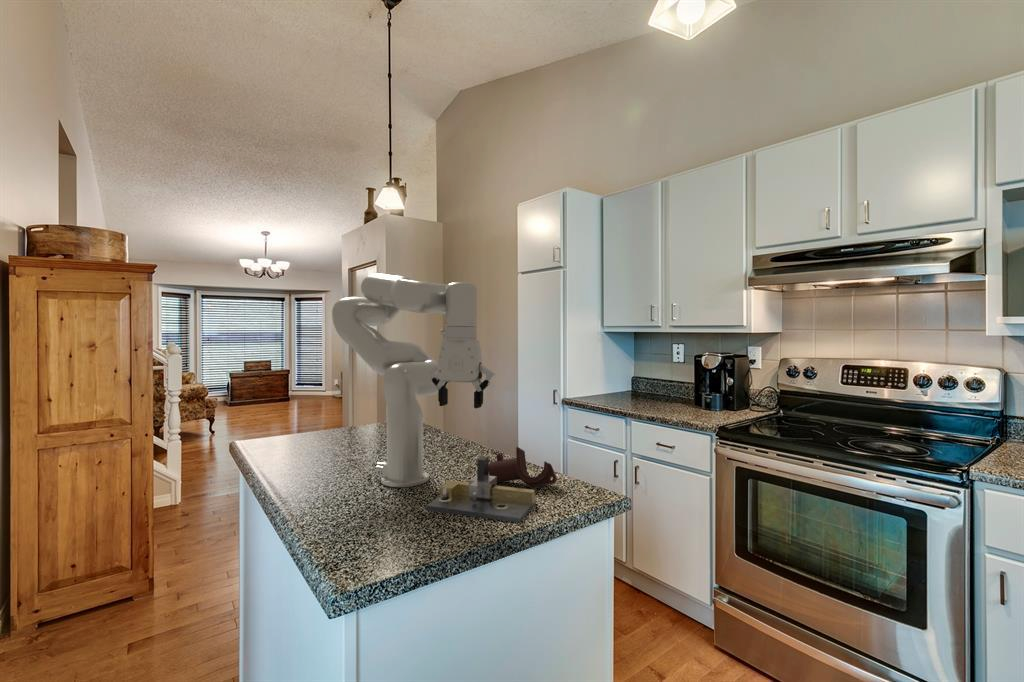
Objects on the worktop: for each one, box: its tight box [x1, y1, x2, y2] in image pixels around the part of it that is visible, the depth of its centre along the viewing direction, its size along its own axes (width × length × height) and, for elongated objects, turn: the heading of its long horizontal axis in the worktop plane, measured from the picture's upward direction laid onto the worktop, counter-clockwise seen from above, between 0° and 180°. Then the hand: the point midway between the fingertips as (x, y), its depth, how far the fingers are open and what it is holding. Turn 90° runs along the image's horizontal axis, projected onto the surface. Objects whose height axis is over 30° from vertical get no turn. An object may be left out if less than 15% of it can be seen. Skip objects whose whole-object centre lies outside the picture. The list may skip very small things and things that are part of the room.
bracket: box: [489, 446, 558, 488], centre depth 124 cm, size 6×17×10 cm, turn 78°
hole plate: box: [425, 495, 537, 524], centre depth 107 cm, size 22×12×1 cm, turn 71°
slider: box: [468, 455, 498, 502], centre depth 110 cm, size 5×8×9 cm, turn 161°
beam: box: [439, 479, 536, 504], centre depth 109 cm, size 22×6×2 cm, turn 71°
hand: (460, 406), depth 114 cm, fingers open, 8 cm apart
